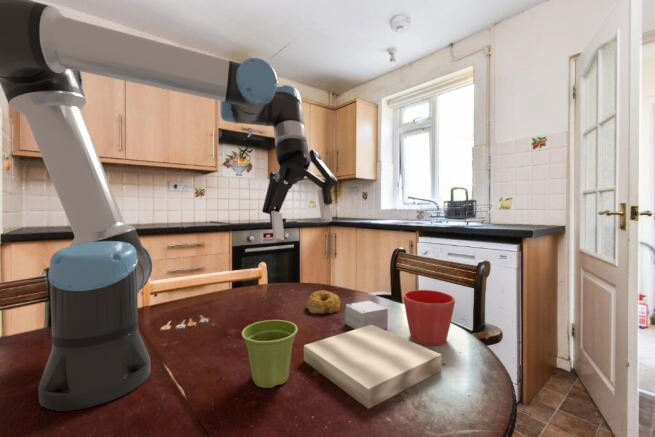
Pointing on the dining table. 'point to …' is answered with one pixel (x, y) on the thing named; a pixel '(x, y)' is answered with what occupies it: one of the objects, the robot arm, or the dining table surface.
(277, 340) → the plant pot
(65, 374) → the robot arm
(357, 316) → the small box
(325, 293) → the bagel
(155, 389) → the dining table surface
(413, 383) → the plinth
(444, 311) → the flower pot
